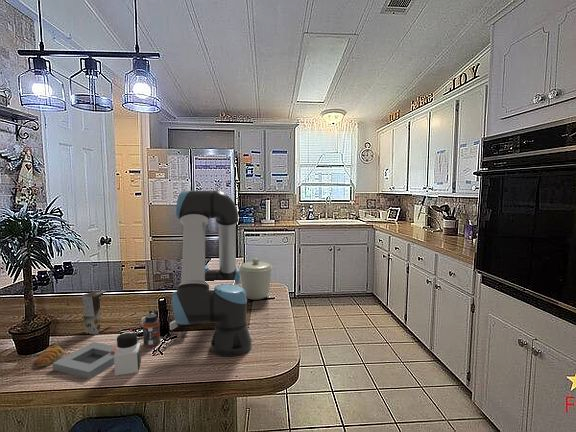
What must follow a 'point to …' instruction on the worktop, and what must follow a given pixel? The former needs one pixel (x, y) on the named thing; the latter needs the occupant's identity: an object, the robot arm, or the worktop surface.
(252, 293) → the canister
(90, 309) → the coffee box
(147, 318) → the supplement bottle
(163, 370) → the worktop surface
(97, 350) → the socket plate
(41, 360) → the pastry
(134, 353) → the medicine bottle
